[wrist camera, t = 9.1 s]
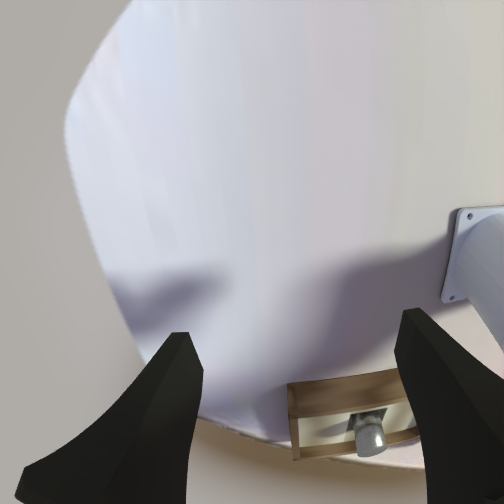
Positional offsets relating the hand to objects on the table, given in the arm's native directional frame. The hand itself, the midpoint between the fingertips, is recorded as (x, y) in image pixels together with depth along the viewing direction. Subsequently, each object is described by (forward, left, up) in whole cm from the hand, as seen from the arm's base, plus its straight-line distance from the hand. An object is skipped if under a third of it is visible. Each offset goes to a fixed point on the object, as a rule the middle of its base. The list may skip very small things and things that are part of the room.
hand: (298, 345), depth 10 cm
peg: (-7, +22, -10) cm, 25 cm away
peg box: (-7, +22, -10) cm, 25 cm away
